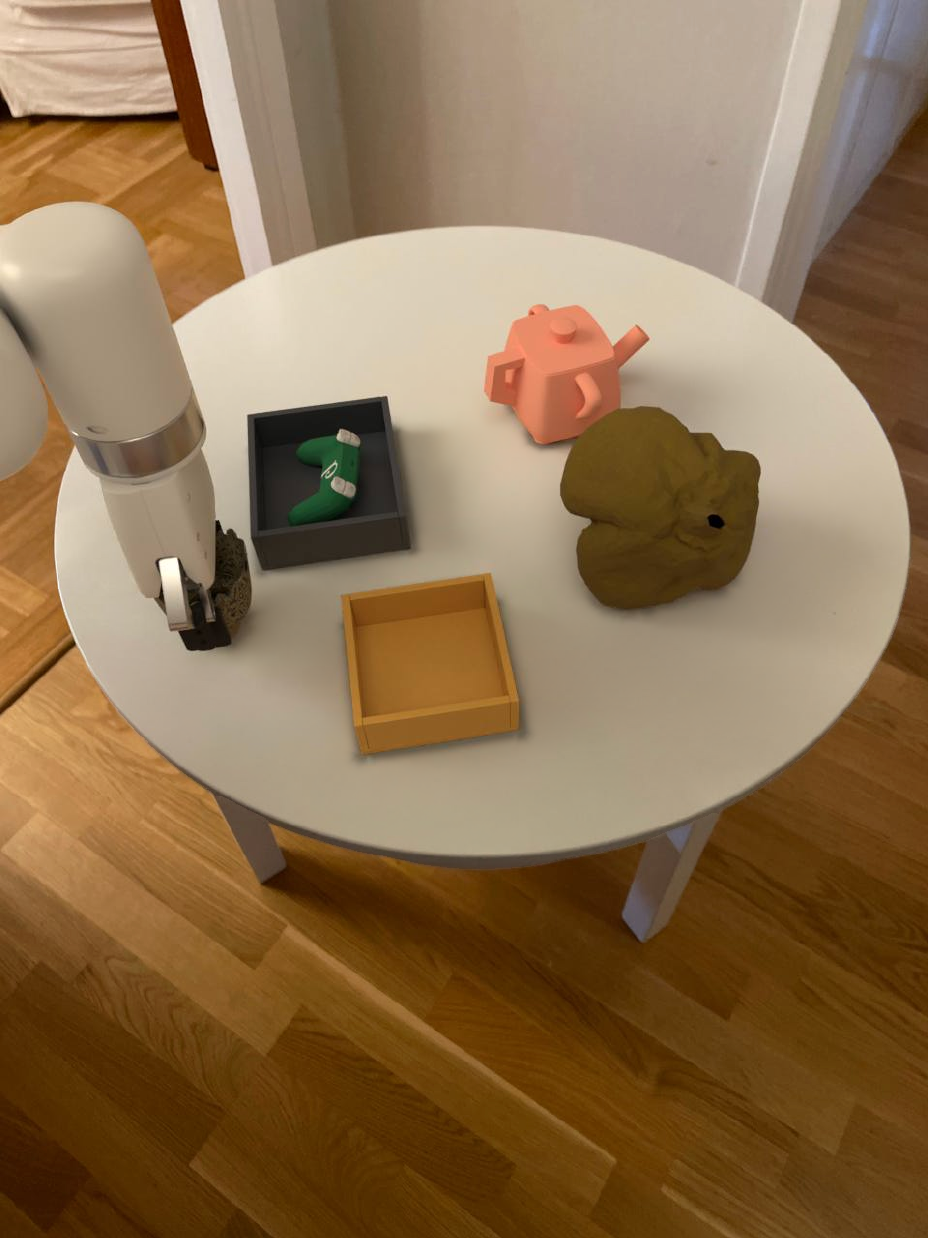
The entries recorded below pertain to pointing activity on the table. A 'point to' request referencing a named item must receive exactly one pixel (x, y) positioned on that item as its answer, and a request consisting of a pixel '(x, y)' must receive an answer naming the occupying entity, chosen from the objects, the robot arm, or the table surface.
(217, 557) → the cup
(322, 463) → the gaming controller
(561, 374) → the teapot
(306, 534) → the charcoal bin
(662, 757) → the table surface
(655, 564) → the olive-brown lumpy blob
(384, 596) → the ochre bin
